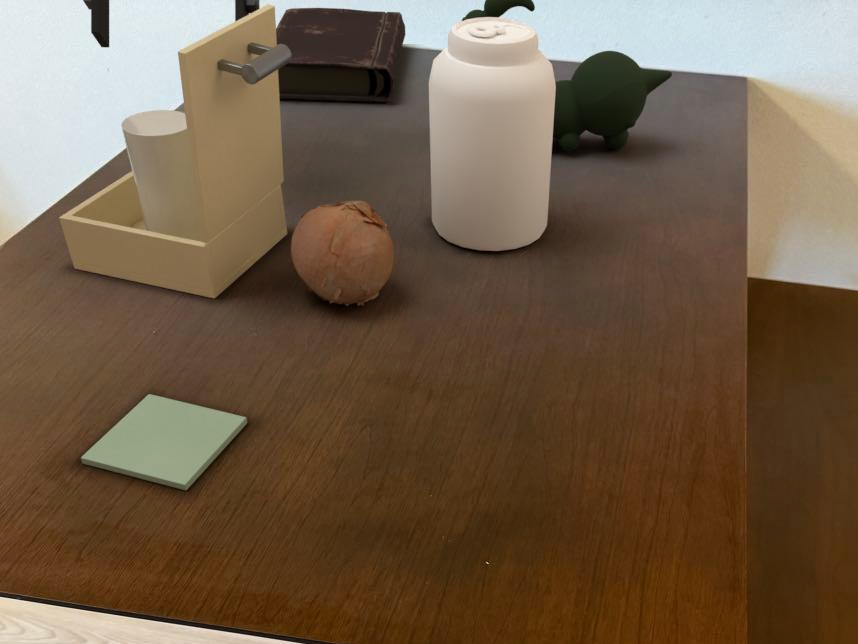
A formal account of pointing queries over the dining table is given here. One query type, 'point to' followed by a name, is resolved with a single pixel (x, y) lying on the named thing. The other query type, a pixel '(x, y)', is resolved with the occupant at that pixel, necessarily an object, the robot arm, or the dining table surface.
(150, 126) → the canister
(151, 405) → the mat
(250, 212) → the beige shallow open box
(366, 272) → the onion
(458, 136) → the can
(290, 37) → the diary
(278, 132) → the lid
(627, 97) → the toy figurine
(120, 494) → the dining table surface
